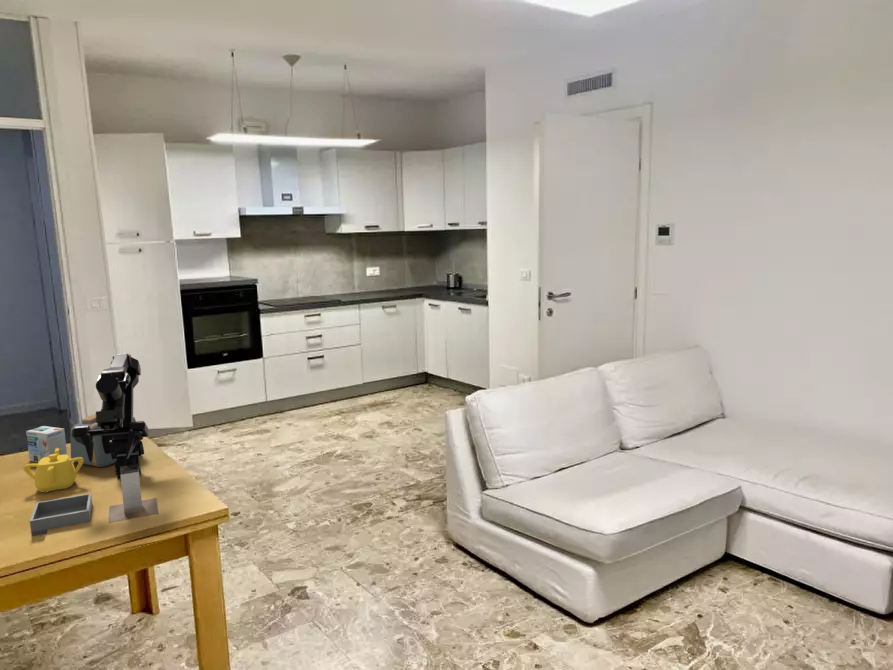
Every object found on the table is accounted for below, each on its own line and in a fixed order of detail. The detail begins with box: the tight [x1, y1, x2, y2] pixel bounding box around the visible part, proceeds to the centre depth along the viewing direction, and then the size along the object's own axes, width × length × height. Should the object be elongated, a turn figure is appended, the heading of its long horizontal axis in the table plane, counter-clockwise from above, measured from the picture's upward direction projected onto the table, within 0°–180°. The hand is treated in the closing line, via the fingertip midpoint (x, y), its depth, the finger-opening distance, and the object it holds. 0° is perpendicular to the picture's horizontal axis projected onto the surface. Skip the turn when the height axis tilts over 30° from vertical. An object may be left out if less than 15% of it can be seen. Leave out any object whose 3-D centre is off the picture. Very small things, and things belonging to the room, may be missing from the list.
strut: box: [120, 464, 143, 514], centre depth 178 cm, size 4×4×12 cm
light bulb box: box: [25, 425, 68, 463], centre depth 224 cm, size 11×7×11 cm, turn 68°
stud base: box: [108, 497, 159, 524], centre depth 179 cm, size 12×12×4 cm
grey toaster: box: [69, 413, 137, 468], centre depth 223 cm, size 16×16×16 cm
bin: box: [29, 492, 93, 537], centre depth 175 cm, size 13×13×4 cm
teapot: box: [22, 448, 84, 493], centre depth 199 cm, size 14×13×10 cm
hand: (108, 460), depth 182 cm, fingers open, 9 cm apart
